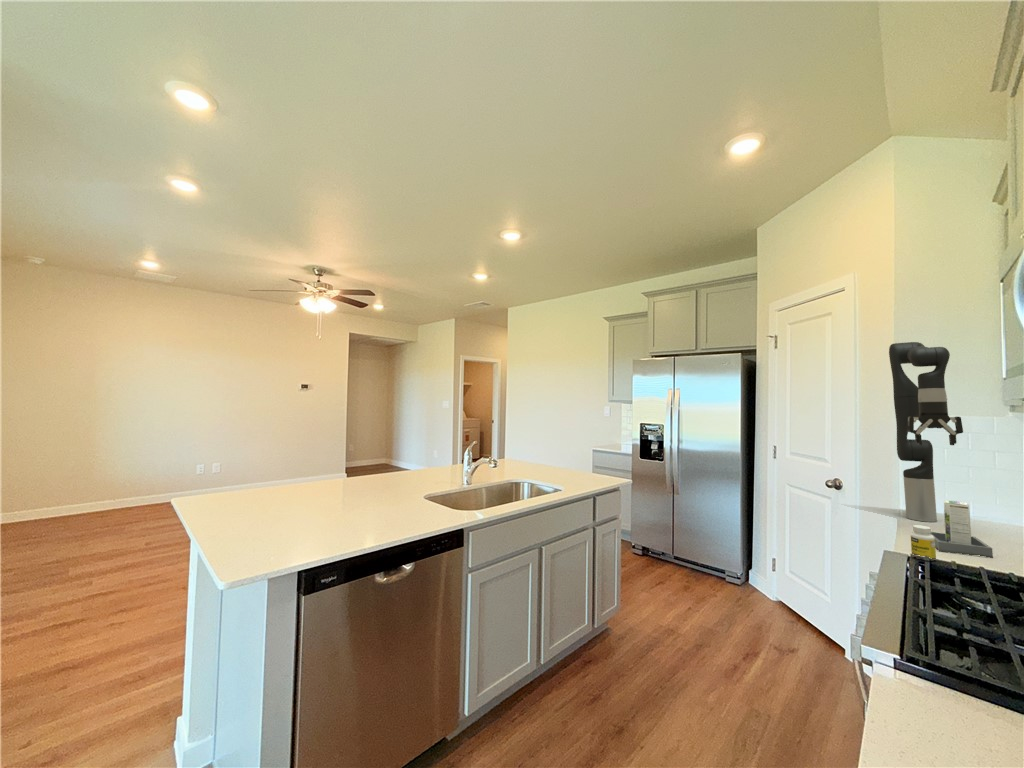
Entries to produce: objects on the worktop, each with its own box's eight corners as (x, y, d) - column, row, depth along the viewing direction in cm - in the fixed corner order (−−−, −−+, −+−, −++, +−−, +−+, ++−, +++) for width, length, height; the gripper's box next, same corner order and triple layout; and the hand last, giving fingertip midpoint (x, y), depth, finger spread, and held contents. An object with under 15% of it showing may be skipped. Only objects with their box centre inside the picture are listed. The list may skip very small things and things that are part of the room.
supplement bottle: (908, 557, 131) (905, 525, 131) (917, 555, 133) (915, 523, 134) (930, 563, 126) (928, 530, 126) (940, 560, 128) (937, 527, 129)
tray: (926, 540, 148) (926, 531, 148) (975, 545, 141) (974, 536, 142) (939, 551, 136) (938, 541, 136) (992, 558, 130) (992, 548, 130)
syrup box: (945, 542, 143) (942, 499, 144) (971, 546, 139) (967, 502, 140) (946, 546, 139) (943, 502, 140) (973, 550, 135) (969, 504, 136)
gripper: (956, 400, 155) (959, 444, 154) (904, 401, 162) (907, 443, 161) (963, 400, 148) (966, 446, 147) (908, 401, 156) (912, 444, 155)
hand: (935, 444), depth 154 cm, fingers open, 8 cm apart
